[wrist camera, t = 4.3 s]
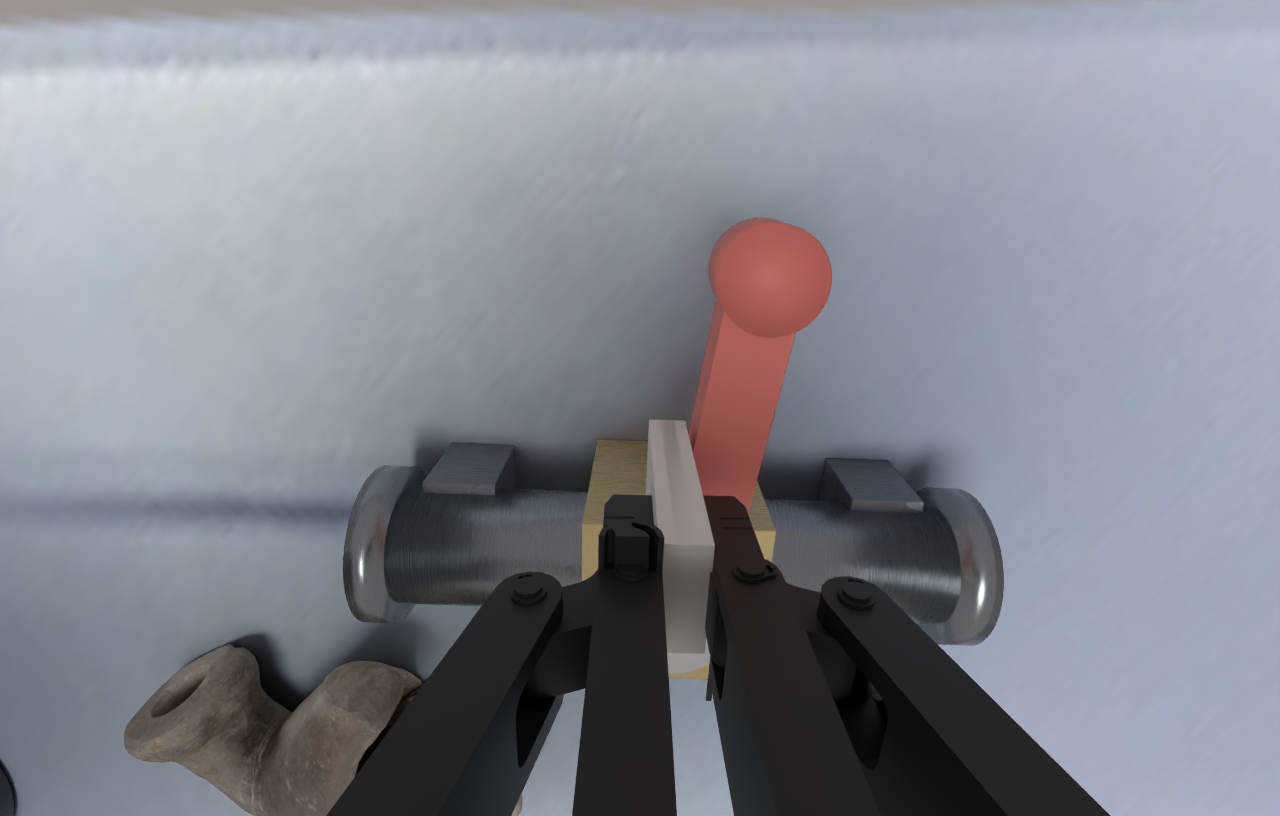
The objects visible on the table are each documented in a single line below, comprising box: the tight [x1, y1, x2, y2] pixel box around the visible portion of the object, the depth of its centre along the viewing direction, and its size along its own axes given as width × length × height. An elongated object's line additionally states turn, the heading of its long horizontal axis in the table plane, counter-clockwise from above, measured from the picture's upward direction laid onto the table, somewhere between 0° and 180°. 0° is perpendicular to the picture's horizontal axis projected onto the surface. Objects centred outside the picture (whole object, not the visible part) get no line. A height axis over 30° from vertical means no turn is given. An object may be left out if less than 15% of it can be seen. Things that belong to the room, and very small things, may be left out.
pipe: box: [124, 644, 522, 816], centre depth 32 cm, size 16×9×15 cm
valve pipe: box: [343, 439, 1004, 679], centre depth 26 cm, size 25×7×8 cm, turn 88°
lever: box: [667, 218, 832, 674], centre depth 19 cm, size 16×4×3 cm, turn 171°
